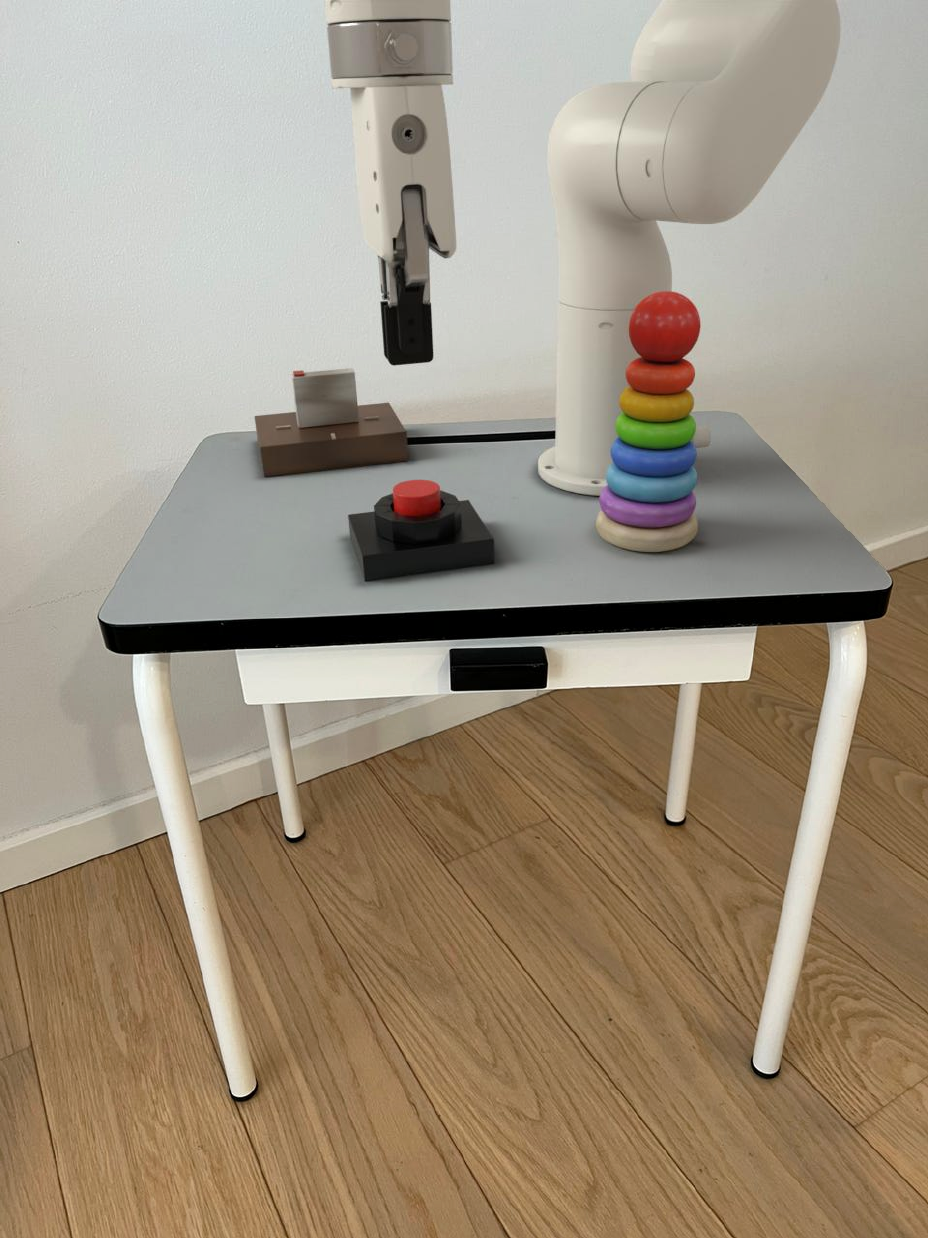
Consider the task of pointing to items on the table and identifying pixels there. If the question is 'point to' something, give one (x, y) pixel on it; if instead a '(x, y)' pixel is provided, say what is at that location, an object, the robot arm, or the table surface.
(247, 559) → the table surface
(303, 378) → the grey rectangular block
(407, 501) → the button
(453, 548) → the switch block
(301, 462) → the brown base block
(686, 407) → the stacking toy
